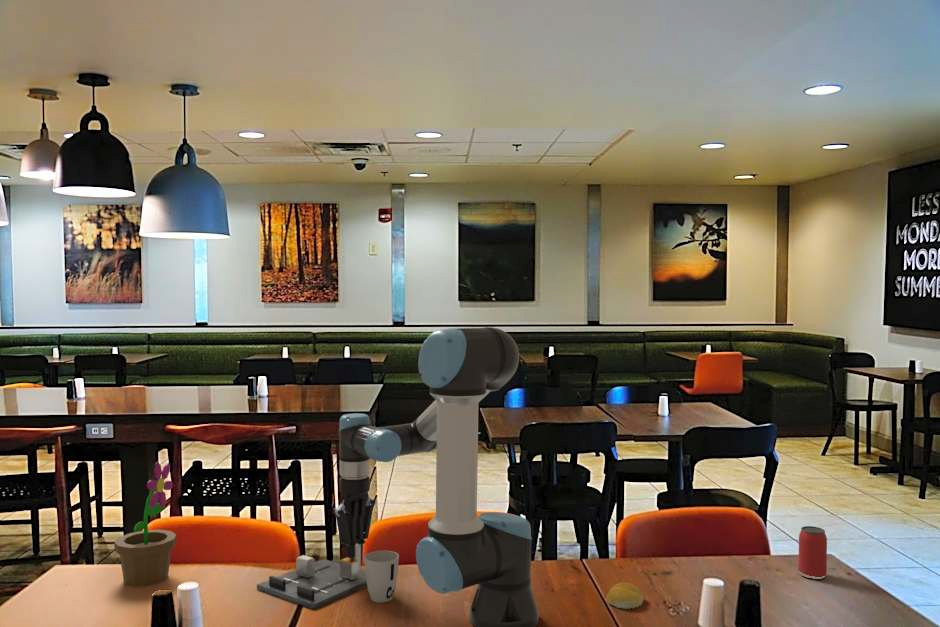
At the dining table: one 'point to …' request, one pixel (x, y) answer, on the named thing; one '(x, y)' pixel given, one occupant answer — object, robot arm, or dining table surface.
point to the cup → (381, 574)
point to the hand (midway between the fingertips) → (354, 569)
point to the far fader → (305, 566)
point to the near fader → (349, 568)
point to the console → (313, 585)
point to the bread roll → (625, 596)
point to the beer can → (813, 551)
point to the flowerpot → (148, 539)
